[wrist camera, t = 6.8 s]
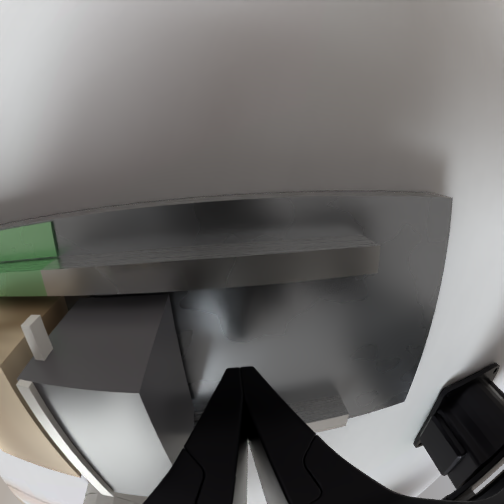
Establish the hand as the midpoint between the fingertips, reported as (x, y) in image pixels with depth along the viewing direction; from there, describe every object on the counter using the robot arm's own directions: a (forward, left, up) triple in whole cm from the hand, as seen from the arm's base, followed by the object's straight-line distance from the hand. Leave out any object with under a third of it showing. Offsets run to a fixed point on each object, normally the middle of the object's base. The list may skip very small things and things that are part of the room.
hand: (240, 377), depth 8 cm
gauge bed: (+3, 0, -3) cm, 4 cm away
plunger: (+3, 0, -1) cm, 4 cm away
